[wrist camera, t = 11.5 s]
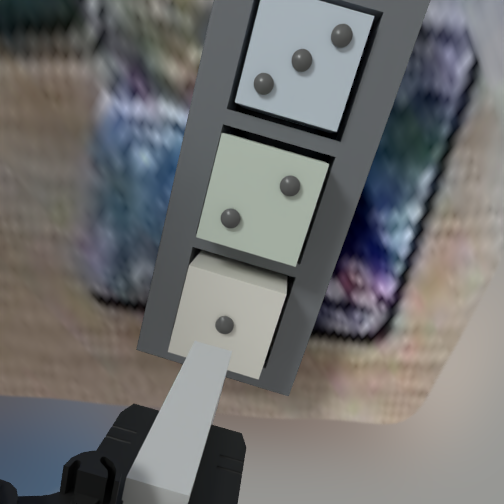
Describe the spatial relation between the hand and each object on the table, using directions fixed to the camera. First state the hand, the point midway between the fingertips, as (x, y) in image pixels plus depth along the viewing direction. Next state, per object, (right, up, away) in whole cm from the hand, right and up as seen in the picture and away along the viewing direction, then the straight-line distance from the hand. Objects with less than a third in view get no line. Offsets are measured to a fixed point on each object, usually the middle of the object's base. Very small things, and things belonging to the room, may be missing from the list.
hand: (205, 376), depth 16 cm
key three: (+5, +15, +7) cm, 17 cm away
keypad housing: (+3, +9, +9) cm, 13 cm away
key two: (+2, +8, +8) cm, 12 cm away
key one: (+1, +2, +10) cm, 10 cm away
